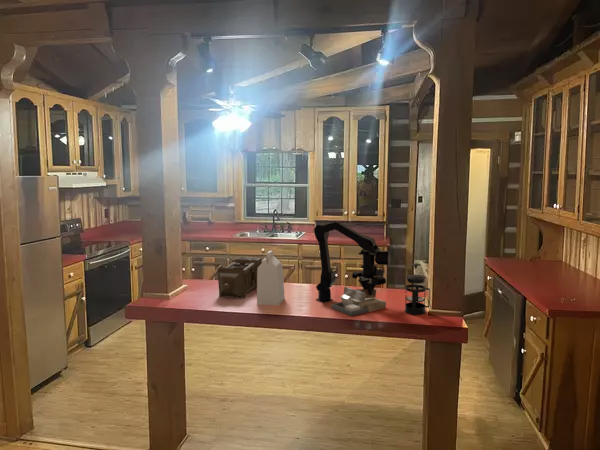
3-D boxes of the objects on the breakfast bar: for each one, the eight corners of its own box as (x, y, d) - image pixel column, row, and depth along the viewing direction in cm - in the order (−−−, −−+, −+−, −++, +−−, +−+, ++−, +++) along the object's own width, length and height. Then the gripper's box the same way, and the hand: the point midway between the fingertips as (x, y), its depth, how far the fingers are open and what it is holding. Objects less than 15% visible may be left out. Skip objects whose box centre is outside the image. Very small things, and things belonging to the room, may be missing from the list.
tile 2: (353, 304, 218) (353, 309, 218) (345, 306, 215) (345, 311, 215) (360, 306, 213) (360, 311, 214) (351, 308, 211) (351, 313, 211)
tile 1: (347, 302, 225) (343, 305, 224) (344, 294, 223) (340, 296, 222) (353, 305, 221) (349, 307, 220) (350, 296, 219) (346, 299, 218)
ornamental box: (237, 308, 232) (240, 274, 228) (206, 302, 236) (208, 267, 233) (262, 289, 265) (265, 258, 261) (234, 283, 269) (237, 253, 266)
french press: (401, 313, 212) (402, 265, 209) (404, 307, 220) (405, 261, 217) (428, 316, 207) (429, 266, 204) (430, 310, 216) (431, 262, 213)
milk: (279, 305, 227) (277, 254, 224) (256, 304, 230) (255, 253, 226) (284, 298, 239) (283, 249, 235) (263, 297, 241) (262, 249, 238)
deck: (348, 304, 227) (348, 298, 227) (365, 300, 233) (365, 294, 233) (368, 311, 215) (368, 305, 215) (385, 307, 221) (385, 301, 220)
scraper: (343, 295, 224) (344, 287, 224) (364, 293, 232) (365, 286, 232) (362, 301, 213) (363, 293, 213) (383, 300, 220) (384, 292, 220)
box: (331, 308, 222) (331, 304, 222) (348, 304, 227) (348, 300, 227) (351, 316, 209) (351, 312, 209) (368, 312, 215) (368, 307, 215)
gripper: (394, 264, 219) (394, 296, 221) (368, 258, 234) (368, 288, 236) (377, 268, 213) (376, 300, 215) (351, 261, 228) (351, 291, 230)
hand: (368, 294), depth 224 cm, fingers closed on scraper, 2 cm apart
